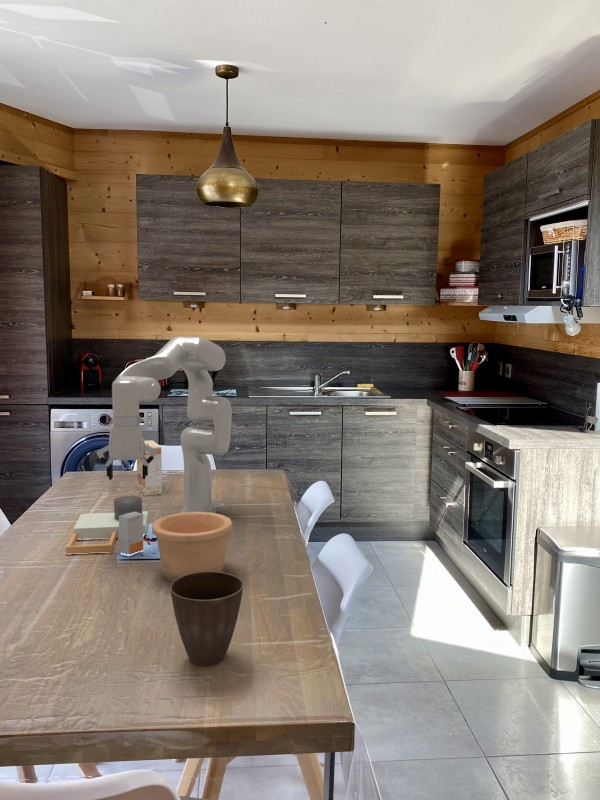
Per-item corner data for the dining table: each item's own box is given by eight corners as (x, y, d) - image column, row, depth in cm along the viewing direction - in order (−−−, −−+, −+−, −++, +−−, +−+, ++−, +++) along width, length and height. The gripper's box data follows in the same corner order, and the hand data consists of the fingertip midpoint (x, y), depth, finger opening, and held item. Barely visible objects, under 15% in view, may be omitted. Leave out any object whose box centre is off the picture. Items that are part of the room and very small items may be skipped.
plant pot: (245, 640, 152) (244, 570, 150) (241, 675, 137) (241, 599, 135) (177, 641, 151) (175, 571, 149) (166, 676, 136) (164, 600, 134)
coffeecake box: (136, 487, 281) (135, 441, 279) (154, 486, 284) (153, 439, 282) (144, 496, 268) (143, 447, 265) (162, 494, 271) (161, 446, 268)
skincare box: (128, 557, 202) (127, 518, 200) (119, 554, 204) (117, 515, 203) (144, 552, 206) (143, 513, 205) (135, 549, 209) (134, 511, 208)
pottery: (155, 592, 177) (154, 538, 175) (150, 562, 198) (149, 514, 196) (238, 584, 183) (238, 532, 181) (225, 555, 204) (224, 508, 202)
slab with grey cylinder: (148, 522, 235) (147, 494, 234) (142, 551, 207) (141, 519, 206) (81, 525, 232) (80, 496, 231) (66, 555, 203) (65, 522, 202)
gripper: (157, 419, 206) (158, 475, 208) (97, 419, 204) (99, 476, 206) (155, 423, 199) (156, 480, 201) (93, 423, 196) (95, 482, 198)
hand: (127, 478), depth 203 cm, fingers open, 9 cm apart
